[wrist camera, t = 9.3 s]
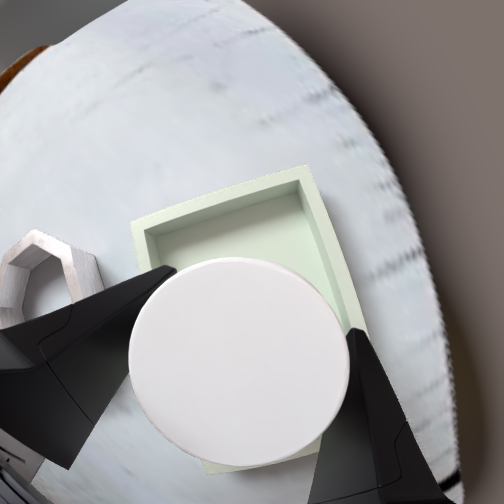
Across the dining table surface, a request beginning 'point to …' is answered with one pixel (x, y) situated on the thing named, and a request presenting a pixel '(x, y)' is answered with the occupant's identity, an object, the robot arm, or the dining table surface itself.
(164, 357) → the pill bottle
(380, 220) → the dining table surface
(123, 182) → the dining table surface
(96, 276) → the steel collar
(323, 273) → the sage tray
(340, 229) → the dining table surface
